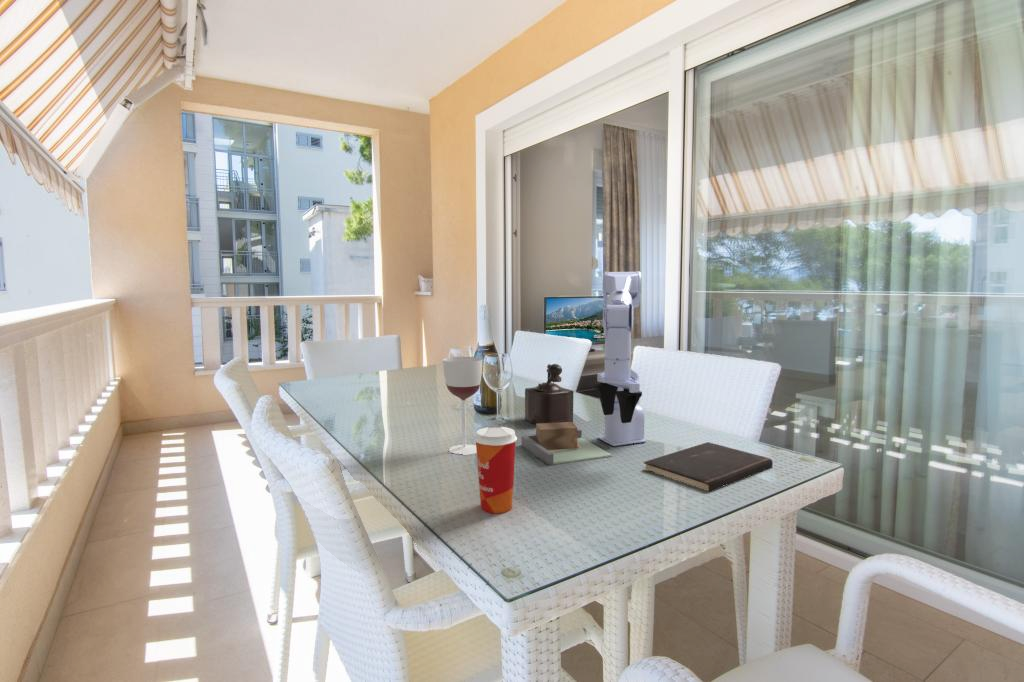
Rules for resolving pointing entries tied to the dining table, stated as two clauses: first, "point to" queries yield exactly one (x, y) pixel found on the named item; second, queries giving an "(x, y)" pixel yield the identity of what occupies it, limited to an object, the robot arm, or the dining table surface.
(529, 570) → the dining table surface
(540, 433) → the walnut block
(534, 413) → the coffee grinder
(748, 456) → the hardcover book
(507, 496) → the paper cup
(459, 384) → the wineglass
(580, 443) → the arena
